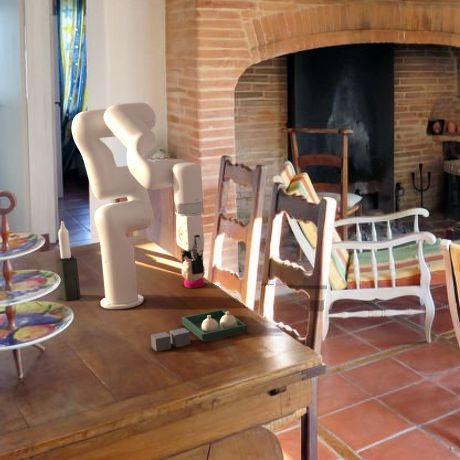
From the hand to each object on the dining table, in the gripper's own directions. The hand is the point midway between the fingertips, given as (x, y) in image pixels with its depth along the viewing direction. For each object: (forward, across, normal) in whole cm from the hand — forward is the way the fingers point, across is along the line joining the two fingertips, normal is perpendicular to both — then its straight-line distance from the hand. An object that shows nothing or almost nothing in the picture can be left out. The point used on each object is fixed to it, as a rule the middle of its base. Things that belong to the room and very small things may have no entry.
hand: (193, 269), depth 223 cm
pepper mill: (+18, -40, +14) cm, 46 cm away
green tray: (+18, +3, +4) cm, 18 cm away
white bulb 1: (+17, +7, +1) cm, 18 cm away
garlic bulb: (+3, 0, 0) cm, 3 cm away
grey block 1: (+18, +10, -13) cm, 24 cm away
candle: (+18, -50, -24) cm, 58 cm away
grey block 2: (+18, +10, -8) cm, 21 cm away
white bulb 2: (+17, +7, +7) cm, 20 cm away
